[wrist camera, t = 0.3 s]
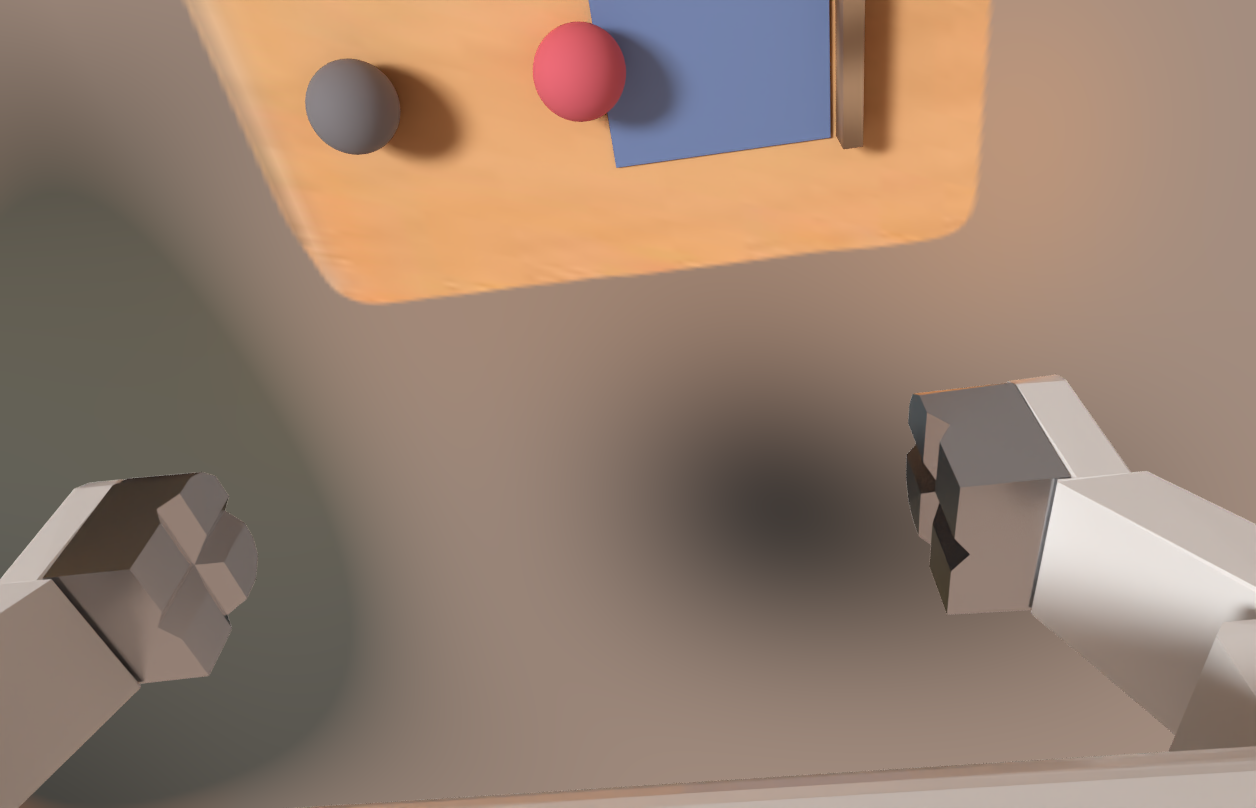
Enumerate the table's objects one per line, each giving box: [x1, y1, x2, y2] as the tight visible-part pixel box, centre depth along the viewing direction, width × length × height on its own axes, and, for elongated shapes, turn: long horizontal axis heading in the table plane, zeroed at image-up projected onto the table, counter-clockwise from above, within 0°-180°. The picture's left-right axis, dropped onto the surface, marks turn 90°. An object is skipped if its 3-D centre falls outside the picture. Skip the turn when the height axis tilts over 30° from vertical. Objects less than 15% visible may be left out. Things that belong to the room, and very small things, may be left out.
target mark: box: [589, 0, 830, 168], centre depth 51 cm, size 14×14×1 cm
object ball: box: [533, 22, 626, 122], centre depth 50 cm, size 6×6×6 cm
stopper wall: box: [835, 0, 865, 149], centre depth 49 cm, size 14×1×2 cm, turn 9°
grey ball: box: [305, 59, 400, 155], centre depth 51 cm, size 6×6×6 cm
